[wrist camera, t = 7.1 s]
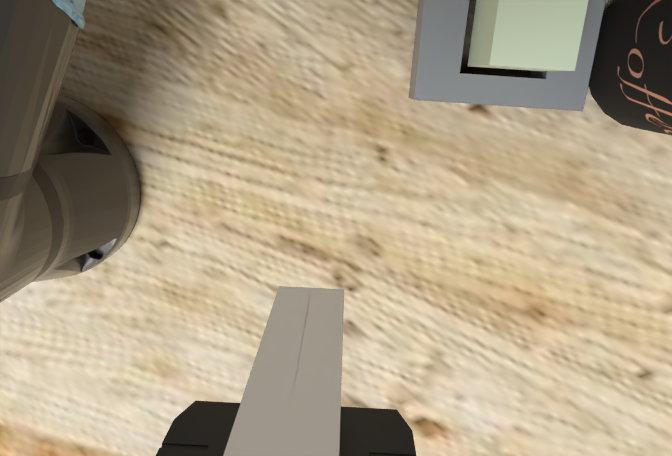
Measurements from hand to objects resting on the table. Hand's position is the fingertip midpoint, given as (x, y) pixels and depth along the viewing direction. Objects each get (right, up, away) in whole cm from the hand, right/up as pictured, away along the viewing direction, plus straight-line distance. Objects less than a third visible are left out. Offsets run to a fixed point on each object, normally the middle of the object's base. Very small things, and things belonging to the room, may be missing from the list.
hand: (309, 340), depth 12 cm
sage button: (+12, +16, +23) cm, 31 cm away
